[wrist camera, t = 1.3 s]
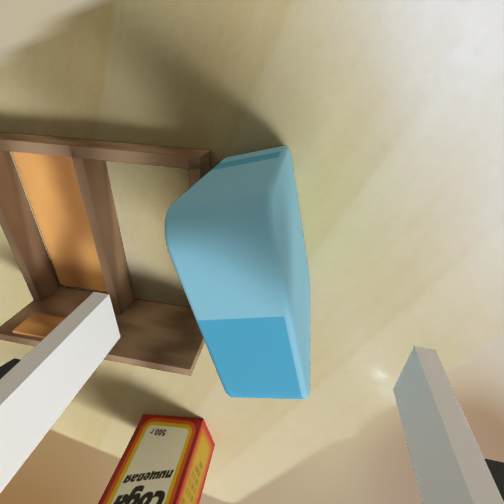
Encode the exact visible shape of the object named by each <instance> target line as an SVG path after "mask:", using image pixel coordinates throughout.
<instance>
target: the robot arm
mask: <svg viewBox="0 0 504 504" xmlns="http://www.w3.org/2000/svg"><path fill="white" fill-rule="evenodd" d="M119 338H120V333H119V329H118V326H117V322H116V318H115V314H114V311H113V307H112V303H111V299H110V295H109V294H104V293H98V292H93V293H92V294H91V295H90V296H89V297H88V298H87V299H86V300H85V301H84V302H83V303H81V304H80V305H79V306H78V307H77V308H76V309H75V310H74V311H73V312H72V313H71V314H70V315H69V316H68V317H66V318H65V319H64V320H63V321H62V322H61V323H60V324H59V325H58V326H57V327H56V328H55V329H54V330H53V331H52V332H50V333H49V334H48V335H47V336H46V337H45V338H44V339H43V340H42V341H41V342H40V343H39V344H38V345H37V346H36V347H34V348H33V349H32V350H31V351H30V352H29V353H28V354H27V355H26V356H25V357H24V358H23V359H22V360H19V359H13V360H11V361H9V362H8V363H6V364H4V365H3V366H1V367H0V493H1V492H2V490H3V489H4V487H5V486H6V485H7V484H8V483H9V481H10V480H11V479H12V477H13V476H14V475H15V473H16V472H17V471H18V470H19V468H20V467H21V466H22V464H23V463H24V462H25V460H26V459H27V457H29V455H30V454H31V453H32V451H33V450H34V449H35V447H36V446H37V445H38V444H39V442H40V441H41V440H42V438H43V437H44V436H45V435H46V433H47V432H48V431H49V429H50V428H51V427H52V425H53V424H54V423H55V422H56V420H57V419H58V418H59V416H60V415H61V414H62V412H63V411H64V410H65V409H66V407H67V406H68V405H69V403H70V402H71V401H72V399H73V398H74V397H75V396H76V394H77V393H78V392H79V390H80V389H81V388H82V386H83V385H84V384H85V383H86V381H87V380H88V379H89V377H90V376H91V375H92V373H93V372H94V371H95V370H96V368H97V367H98V366H99V364H100V363H101V362H102V361H103V359H104V358H105V357H106V355H107V354H108V353H109V351H110V350H111V349H112V348H113V346H114V345H115V344H116V342H117V341H118V340H119ZM393 390H394V394H395V398H396V402H397V406H398V410H399V413H400V417H401V421H402V425H403V428H404V433H405V437H406V441H407V445H408V449H409V453H410V456H411V460H412V464H413V468H414V472H415V475H416V480H417V484H418V487H419V491H420V495H421V499H422V503H423V504H504V463H503V462H498V461H493V460H488V459H484V457H483V455H482V453H481V450H480V448H479V446H478V444H477V442H476V439H475V437H474V435H473V433H472V430H471V429H470V426H469V424H468V422H467V420H466V417H465V415H464V413H463V411H462V408H461V406H460V404H459V402H458V399H457V397H456V395H455V393H454V391H453V388H452V386H451V384H450V382H449V380H448V377H447V375H446V373H445V371H444V368H443V366H442V364H441V362H440V360H439V357H438V355H437V353H436V351H435V350H433V349H427V348H421V347H415V346H414V348H413V350H412V352H411V354H410V356H409V358H408V360H407V362H406V364H405V366H404V369H403V371H402V373H401V375H400V377H399V379H398V381H397V383H396V385H395V387H394V389H393Z"/></svg>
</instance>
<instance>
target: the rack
mask: <svg viewBox="0 0 504 504" xmlns="http://www.w3.org/2000/svg"><path fill="white" fill-rule="evenodd" d="M9 151H11V152H12V154H13V156H14V159H15V162H16V165H17V167H18V170H19V173H20V175H21V178H22V181H23V184H24V186H25V189H26V192H27V195H28V197H29V200H30V203H31V205H32V208H33V211H34V214H35V216H36V219H37V222H38V225H39V227H40V230H41V233H42V235H43V238H44V241H45V244H46V246H47V249H48V252H49V255H50V257H51V260H52V263H53V265H54V268H55V271H56V274H57V276H58V279H59V282H60V285H65V286H71V287H78V288H84V289H90V290H97V291H103V292H108V294H109V295H110V299H111V303H112V307H113V311H114V314H115V318H116V322H117V326H118V329H119V333H120V338H119V340H118V341H117V342H116V344H115V345H114V346H113V348H112V349H111V350H110V351H109V353H108V354H107V355H106V357H105V358H104V360H110V361H115V362H120V363H125V364H131V365H136V366H141V367H146V368H151V369H157V370H162V371H167V372H172V373H178V374H183V375H188V376H191V374H192V372H193V370H194V367H195V365H196V362H197V360H198V357H199V355H200V352H201V350H202V348H203V345H204V343H205V340H204V338H203V335H202V333H201V331H200V328H199V326H198V323H197V321H196V318H195V316H194V313H193V311H192V308H189V307H183V306H177V305H170V304H164V303H158V302H152V301H145V300H139V299H134V296H133V291H132V286H131V281H130V277H129V272H128V267H127V262H126V258H125V253H124V248H123V243H122V239H121V234H120V229H119V224H118V219H117V215H116V210H115V205H114V200H113V196H112V191H111V186H110V181H109V176H108V172H107V167H106V162H105V161H115V162H125V163H135V164H146V165H156V166H166V167H177V168H187V169H189V181H190V188H191V187H192V186H193V185H194V184H196V183H197V182H198V181H199V180H200V179H201V178H202V177H204V176H205V175H206V174H207V173H208V172H209V171H211V150H202V149H191V148H179V147H168V146H156V145H145V144H134V143H122V142H111V141H99V140H88V139H76V138H65V137H53V136H42V135H31V134H19V133H8V132H0V224H1V227H2V229H3V231H4V233H5V236H6V238H7V240H8V242H9V245H10V247H11V249H12V252H13V254H14V256H15V258H16V261H17V263H18V265H19V267H20V270H21V272H22V274H23V277H24V279H25V281H26V283H27V286H28V288H29V290H30V292H31V295H32V297H33V299H34V301H32V302H31V303H30V304H28V305H27V306H26V307H25V308H23V309H22V310H21V311H19V312H18V313H17V314H16V315H14V316H13V317H12V318H11V319H9V320H8V321H7V322H5V323H4V324H3V325H2V326H0V340H5V341H10V342H15V343H21V344H26V345H31V346H37V345H38V344H39V343H40V342H41V341H42V340H43V339H44V338H45V337H46V336H47V335H48V334H49V333H50V332H52V331H53V330H54V329H55V328H56V327H57V326H58V325H59V324H60V323H61V322H62V321H63V320H64V319H65V318H66V317H68V316H69V315H70V314H71V313H72V312H73V311H74V310H75V309H76V308H77V307H78V306H79V305H80V304H81V303H83V302H84V301H85V300H86V299H87V298H88V297H89V296H90V295H91V294H92V293H93V292H89V291H83V290H77V289H70V288H64V287H59V285H58V282H57V280H56V277H55V274H54V271H53V269H52V266H51V263H50V261H49V258H48V255H47V253H46V250H45V247H44V245H43V242H42V239H41V236H40V234H39V231H38V228H37V226H36V223H35V220H34V218H33V215H32V212H31V210H30V207H29V204H28V201H27V199H26V196H25V193H24V191H23V188H22V185H21V183H20V180H19V177H18V175H17V172H16V169H15V166H14V164H13V161H12V158H11V156H10V153H9Z"/></svg>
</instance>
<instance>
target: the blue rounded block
mask: <svg viewBox="0 0 504 504" xmlns="http://www.w3.org/2000/svg"><path fill="white" fill-rule="evenodd" d="M165 239H166V244H167V248H168V251H169V254H170V257H171V259H172V262H173V264H174V267H175V269H176V271H177V274H178V276H179V279H180V281H181V284H182V286H183V289H184V291H185V294H186V296H187V299H188V301H189V303H190V306H191V308H192V311H193V313H194V316H195V318H196V321H197V323H198V326H199V328H200V331H201V333H202V335H203V338H204V340H205V343H206V345H207V348H208V350H209V353H210V355H211V358H212V360H213V363H214V365H215V367H216V370H217V372H218V375H219V377H220V380H221V382H222V385H223V387H224V390H225V392H226V393H227V394H228V395H229V396H230V397H241V398H278V399H306V398H307V397H308V396H309V393H310V278H309V269H308V262H307V256H306V249H305V243H304V236H303V229H302V223H301V216H300V210H299V203H298V196H297V190H296V183H295V176H294V170H293V163H292V158H291V153H290V150H289V148H288V147H287V146H279V147H274V148H270V149H265V150H260V151H255V152H250V153H245V154H240V155H235V156H230V157H226V158H224V159H223V160H222V161H221V162H220V163H219V164H218V165H216V166H215V167H214V168H213V169H212V170H211V171H209V172H208V173H207V174H206V175H205V176H204V177H202V178H201V179H200V180H199V181H198V182H197V183H196V184H194V185H193V186H192V187H191V188H190V189H189V190H187V191H186V192H185V193H184V194H183V195H182V196H181V197H179V198H178V199H177V200H176V201H175V202H174V203H173V204H172V205H171V206H170V208H169V210H168V212H167V215H166V219H165Z"/></svg>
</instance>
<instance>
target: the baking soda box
mask: <svg viewBox="0 0 504 504" xmlns="http://www.w3.org/2000/svg"><path fill="white" fill-rule="evenodd" d="M214 445H215V444H214V442H213V440H212V437H211V435H210V433H209V430H208V428H207V426H206V424H205V421H204V419H200V418H186V417H172V416H158V415H145V414H143V416H142V418H141V420H140V422H139V424H138V426H137V428H136V430H135V432H134V434H133V436H132V438H131V440H130V442H129V444H128V446H127V448H126V450H125V452H124V454H123V456H122V458H121V460H120V462H119V464H118V466H117V468H116V470H115V472H114V474H113V476H112V478H111V480H110V481H109V483H108V485H107V487H106V489H105V491H104V494H103V495H102V497H101V499H100V501H99V503H98V504H199V501H200V498H201V494H202V490H203V487H204V483H205V479H206V475H207V472H208V468H209V464H210V460H211V457H212V453H213V449H214Z"/></svg>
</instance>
